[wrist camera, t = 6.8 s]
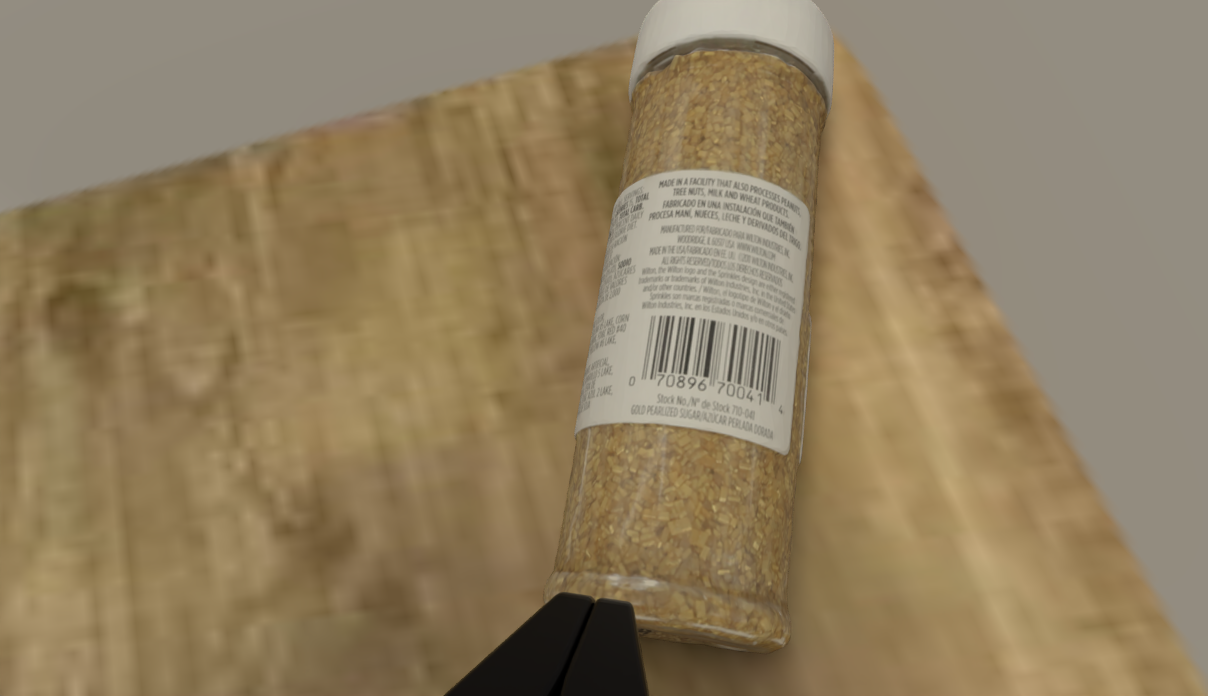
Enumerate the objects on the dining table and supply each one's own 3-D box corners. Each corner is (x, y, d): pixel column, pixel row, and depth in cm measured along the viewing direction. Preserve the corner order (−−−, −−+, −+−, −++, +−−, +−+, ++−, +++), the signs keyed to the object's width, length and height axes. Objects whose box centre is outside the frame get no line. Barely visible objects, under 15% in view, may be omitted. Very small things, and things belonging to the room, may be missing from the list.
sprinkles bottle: (790, 662, 17) (833, 100, 21) (787, 651, 12) (840, -44, 17) (569, 626, 18) (655, 101, 22) (499, 605, 14) (622, -33, 18)
